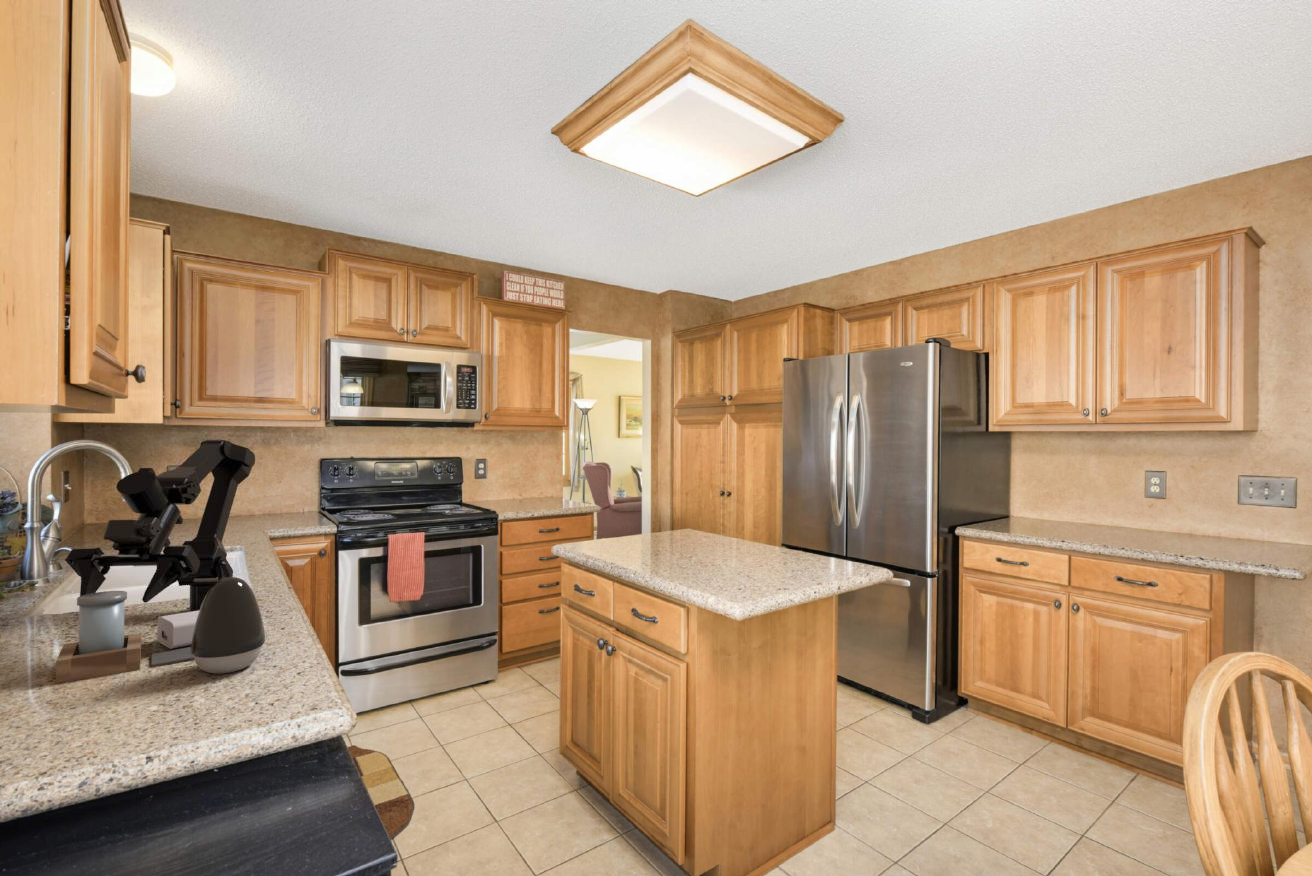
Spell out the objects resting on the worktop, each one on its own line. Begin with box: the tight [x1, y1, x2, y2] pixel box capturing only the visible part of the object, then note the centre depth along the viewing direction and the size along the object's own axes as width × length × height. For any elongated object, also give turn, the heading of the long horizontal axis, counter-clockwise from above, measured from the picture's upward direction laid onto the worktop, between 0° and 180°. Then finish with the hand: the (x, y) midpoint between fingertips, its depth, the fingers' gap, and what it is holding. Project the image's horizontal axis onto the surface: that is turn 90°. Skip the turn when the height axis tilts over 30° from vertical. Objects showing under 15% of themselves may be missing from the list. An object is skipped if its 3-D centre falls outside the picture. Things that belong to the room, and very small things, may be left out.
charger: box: [156, 610, 200, 650], centre depth 119 cm, size 5×9×15 cm
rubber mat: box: [151, 646, 195, 668], centre depth 108 cm, size 7×7×1 cm
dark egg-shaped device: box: [190, 576, 266, 675], centre depth 103 cm, size 10×10×15 cm
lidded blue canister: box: [76, 590, 128, 655], centre depth 103 cm, size 6×6×12 cm
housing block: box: [55, 632, 142, 685], centre depth 103 cm, size 10×10×4 cm
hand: (113, 602), depth 106 cm, fingers open, 9 cm apart
